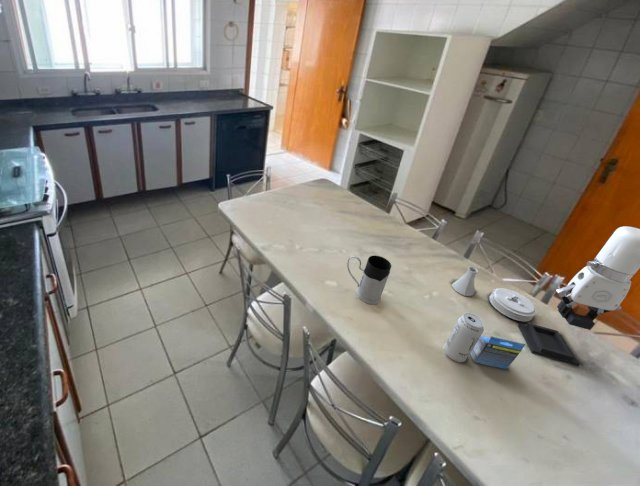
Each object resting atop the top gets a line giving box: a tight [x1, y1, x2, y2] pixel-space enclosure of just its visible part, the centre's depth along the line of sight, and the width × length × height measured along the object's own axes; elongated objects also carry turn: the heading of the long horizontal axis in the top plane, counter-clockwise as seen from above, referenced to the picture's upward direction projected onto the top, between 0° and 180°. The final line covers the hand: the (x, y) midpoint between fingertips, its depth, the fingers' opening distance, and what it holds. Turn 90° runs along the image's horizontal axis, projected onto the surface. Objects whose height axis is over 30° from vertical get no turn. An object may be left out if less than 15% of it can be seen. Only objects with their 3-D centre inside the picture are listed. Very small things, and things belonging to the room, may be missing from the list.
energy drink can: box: [443, 313, 485, 363], centre depth 95 cm, size 6×6×15 cm
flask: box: [451, 266, 479, 297], centre depth 121 cm, size 7×7×10 cm
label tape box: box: [469, 335, 526, 370], centre depth 94 cm, size 9×4×12 cm, turn 78°
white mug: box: [346, 255, 392, 306], centre depth 115 cm, size 9×14×15 cm, turn 60°
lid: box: [488, 287, 537, 323], centre depth 116 cm, size 13×13×5 cm
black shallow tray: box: [517, 322, 581, 367], centre depth 104 cm, size 12×11×2 cm
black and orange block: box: [556, 300, 596, 331], centre depth 95 cm, size 5×7×5 cm
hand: (573, 316), depth 96 cm, fingers closed on black and orange block, 5 cm apart
